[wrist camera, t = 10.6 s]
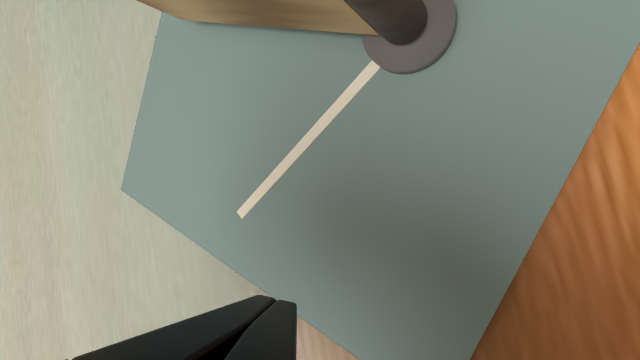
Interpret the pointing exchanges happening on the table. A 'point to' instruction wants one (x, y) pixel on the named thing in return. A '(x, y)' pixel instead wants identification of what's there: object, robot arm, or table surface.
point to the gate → (309, 15)
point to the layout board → (378, 158)
